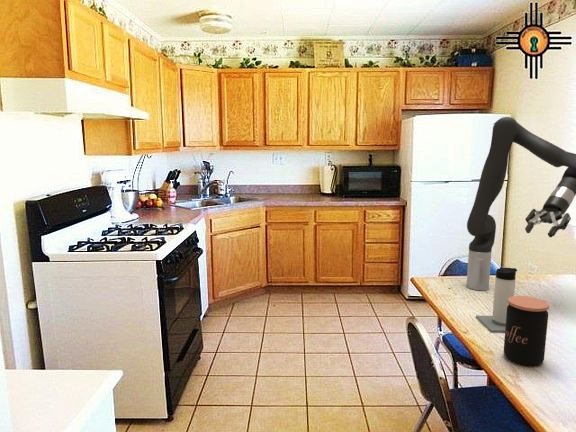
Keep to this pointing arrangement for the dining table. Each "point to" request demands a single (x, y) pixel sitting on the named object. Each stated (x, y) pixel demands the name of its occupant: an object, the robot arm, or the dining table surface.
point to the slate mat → (491, 324)
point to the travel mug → (503, 293)
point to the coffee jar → (526, 330)
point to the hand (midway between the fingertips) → (538, 233)
